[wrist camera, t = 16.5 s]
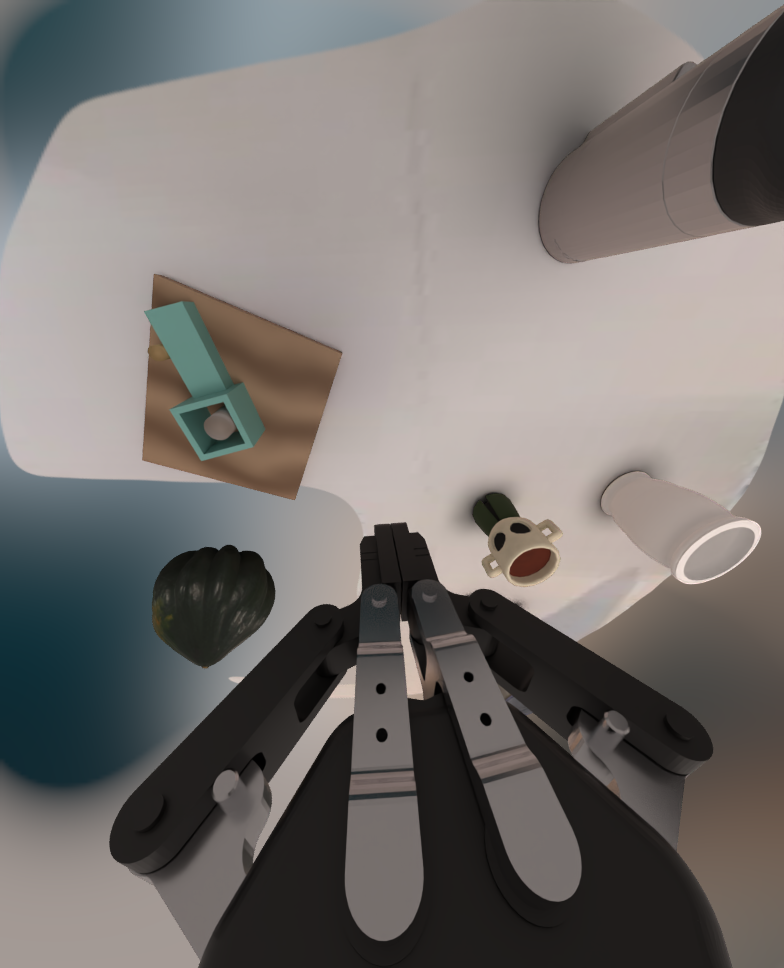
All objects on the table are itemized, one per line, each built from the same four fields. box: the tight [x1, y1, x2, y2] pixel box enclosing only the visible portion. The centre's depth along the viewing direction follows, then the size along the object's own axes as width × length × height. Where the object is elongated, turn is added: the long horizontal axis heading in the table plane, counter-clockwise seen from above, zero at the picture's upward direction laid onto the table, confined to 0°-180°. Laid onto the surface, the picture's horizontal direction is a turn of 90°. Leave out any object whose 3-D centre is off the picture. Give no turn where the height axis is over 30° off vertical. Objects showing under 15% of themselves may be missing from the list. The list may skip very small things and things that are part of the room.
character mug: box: [473, 493, 563, 587], centre depth 43 cm, size 11×7×13 cm, turn 128°
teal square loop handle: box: [144, 301, 265, 461], centre depth 31 cm, size 14×6×6 cm, turn 13°
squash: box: [152, 545, 275, 668], centre depth 43 cm, size 14×15×15 cm
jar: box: [601, 471, 761, 584], centre depth 44 cm, size 11×10×15 cm
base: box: [142, 274, 342, 500], centre depth 33 cm, size 20×18×8 cm
